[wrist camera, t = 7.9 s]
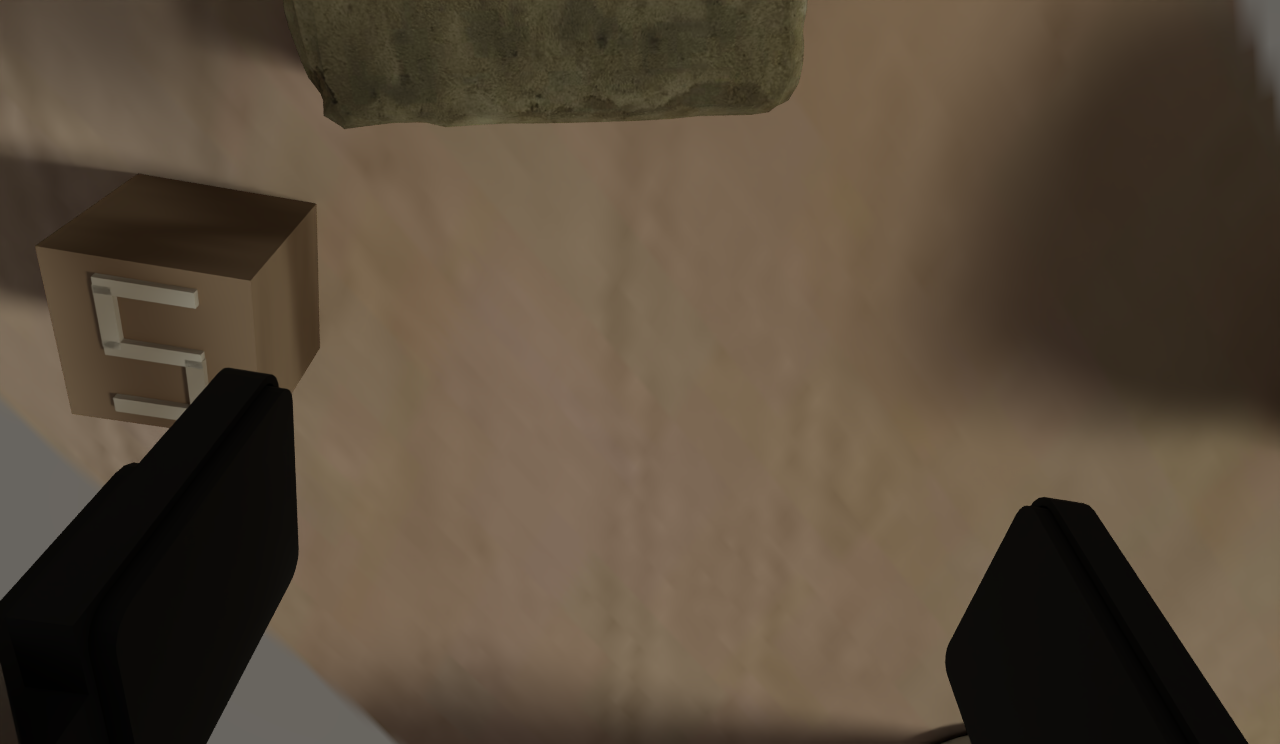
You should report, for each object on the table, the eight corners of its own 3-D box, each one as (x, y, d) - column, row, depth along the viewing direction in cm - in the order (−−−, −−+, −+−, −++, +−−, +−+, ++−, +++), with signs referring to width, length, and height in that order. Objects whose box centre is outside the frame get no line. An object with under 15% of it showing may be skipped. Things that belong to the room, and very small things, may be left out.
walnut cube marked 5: (317, 202, 25) (246, 284, 21) (320, 346, 28) (259, 446, 23) (139, 172, 25) (30, 249, 20) (160, 321, 27) (67, 418, 23)
